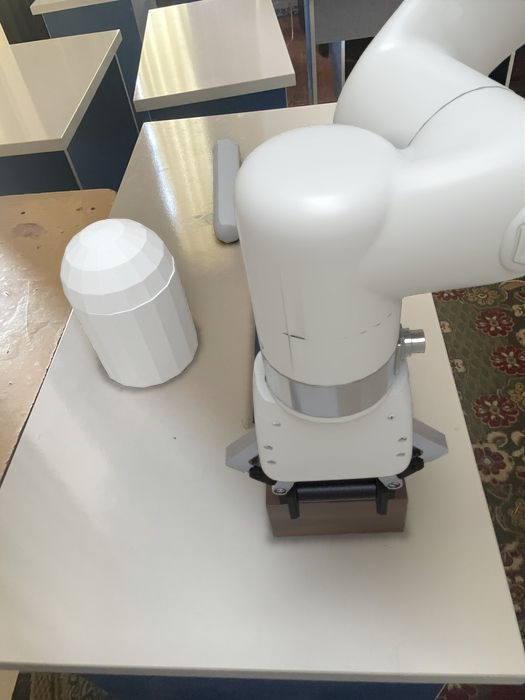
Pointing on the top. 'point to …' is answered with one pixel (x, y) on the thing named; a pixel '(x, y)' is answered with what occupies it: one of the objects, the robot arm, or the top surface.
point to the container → (129, 301)
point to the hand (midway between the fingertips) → (336, 498)
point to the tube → (225, 188)
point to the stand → (337, 516)
